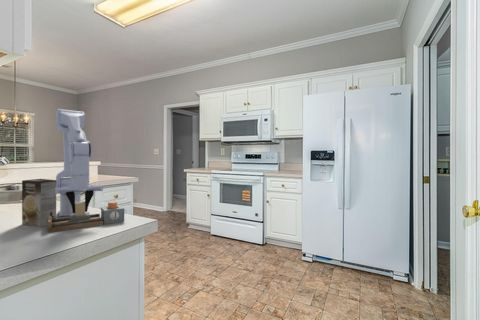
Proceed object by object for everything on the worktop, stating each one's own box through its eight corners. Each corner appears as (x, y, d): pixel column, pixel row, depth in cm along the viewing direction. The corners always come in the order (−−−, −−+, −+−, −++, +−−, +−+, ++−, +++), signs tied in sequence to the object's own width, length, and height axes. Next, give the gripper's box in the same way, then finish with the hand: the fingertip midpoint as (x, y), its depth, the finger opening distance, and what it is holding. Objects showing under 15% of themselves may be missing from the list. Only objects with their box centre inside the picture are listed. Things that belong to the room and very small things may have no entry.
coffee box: (20, 224, 89) (20, 180, 89) (39, 220, 96) (39, 178, 95) (39, 227, 87) (39, 181, 86) (57, 222, 93) (57, 179, 93)
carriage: (69, 219, 91) (69, 202, 90) (88, 217, 94) (88, 200, 94) (70, 223, 87) (70, 204, 86) (90, 220, 90) (90, 202, 90)
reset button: (107, 212, 97) (107, 202, 97) (116, 211, 99) (116, 201, 99) (108, 214, 95) (108, 203, 95) (118, 213, 97) (118, 202, 96)
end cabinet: (100, 219, 98) (101, 207, 97) (120, 217, 102) (120, 205, 102) (104, 224, 92) (104, 210, 92) (124, 221, 96) (124, 208, 96)
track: (48, 225, 88) (48, 216, 88) (99, 219, 98) (99, 210, 98) (47, 232, 81) (47, 222, 81) (102, 224, 91) (103, 215, 91)
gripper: (55, 176, 82) (55, 217, 83) (104, 174, 91) (104, 211, 91) (55, 174, 88) (55, 212, 88) (101, 173, 97) (101, 208, 97)
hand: (79, 212), depth 90 cm, fingers closed on carriage, 3 cm apart
